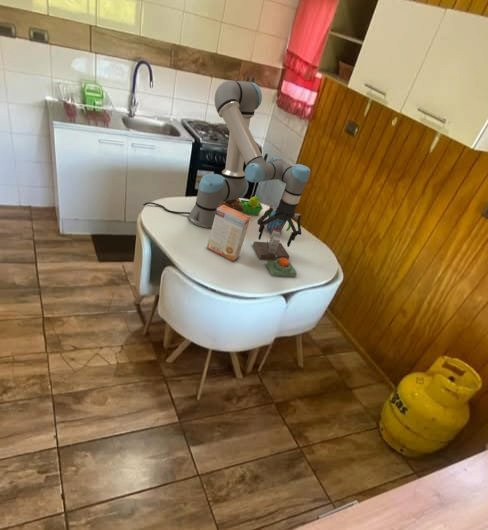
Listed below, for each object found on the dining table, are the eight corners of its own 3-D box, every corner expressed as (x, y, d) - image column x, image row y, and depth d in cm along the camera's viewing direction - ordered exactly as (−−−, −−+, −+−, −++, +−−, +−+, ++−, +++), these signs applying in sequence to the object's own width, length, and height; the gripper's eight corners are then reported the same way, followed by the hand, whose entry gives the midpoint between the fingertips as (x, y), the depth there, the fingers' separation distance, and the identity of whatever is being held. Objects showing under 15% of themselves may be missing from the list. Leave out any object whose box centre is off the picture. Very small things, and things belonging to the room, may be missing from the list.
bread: (209, 201, 210) (213, 185, 205) (226, 201, 214) (231, 185, 209) (222, 218, 197) (227, 201, 191) (240, 218, 201) (245, 201, 195)
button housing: (272, 276, 163) (275, 268, 160) (266, 264, 169) (268, 257, 167) (295, 276, 165) (298, 269, 163) (288, 265, 172) (291, 258, 169)
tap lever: (274, 254, 173) (280, 240, 168) (268, 252, 173) (273, 238, 168) (274, 244, 180) (279, 230, 175) (268, 243, 180) (273, 229, 176)
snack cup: (255, 224, 198) (261, 207, 192) (268, 220, 204) (274, 204, 198) (278, 240, 189) (285, 222, 184) (291, 235, 196) (297, 218, 190)
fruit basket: (257, 210, 213) (263, 192, 206) (260, 218, 206) (267, 199, 199) (238, 207, 211) (243, 189, 204) (240, 215, 204) (246, 196, 197)
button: (280, 267, 163) (281, 263, 162) (276, 261, 166) (278, 257, 165) (289, 267, 164) (291, 263, 163) (285, 261, 167) (287, 257, 166)
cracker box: (239, 256, 170) (251, 216, 158) (232, 262, 166) (245, 221, 154) (213, 243, 176) (223, 203, 163) (206, 248, 171) (216, 207, 159)
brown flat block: (260, 260, 171) (262, 256, 169) (251, 244, 181) (253, 239, 180) (288, 262, 174) (290, 257, 173) (278, 245, 185) (280, 241, 183)
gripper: (317, 204, 164) (299, 244, 177) (261, 190, 165) (247, 230, 178) (319, 211, 158) (300, 252, 171) (261, 197, 159) (247, 239, 172)
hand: (273, 241), depth 174 cm, fingers open, 13 cm apart
